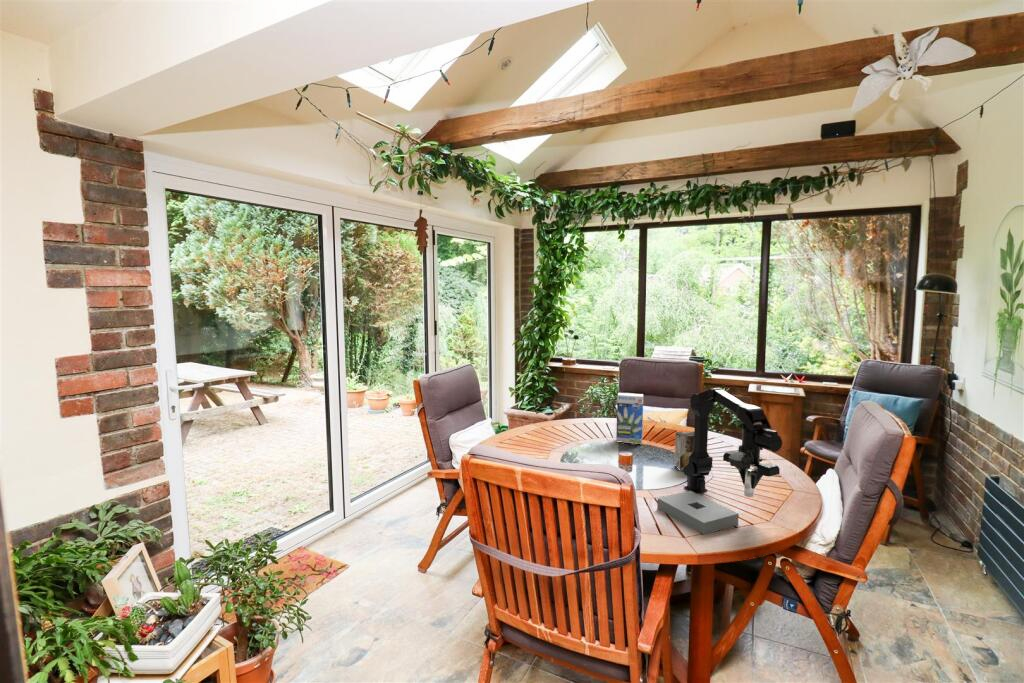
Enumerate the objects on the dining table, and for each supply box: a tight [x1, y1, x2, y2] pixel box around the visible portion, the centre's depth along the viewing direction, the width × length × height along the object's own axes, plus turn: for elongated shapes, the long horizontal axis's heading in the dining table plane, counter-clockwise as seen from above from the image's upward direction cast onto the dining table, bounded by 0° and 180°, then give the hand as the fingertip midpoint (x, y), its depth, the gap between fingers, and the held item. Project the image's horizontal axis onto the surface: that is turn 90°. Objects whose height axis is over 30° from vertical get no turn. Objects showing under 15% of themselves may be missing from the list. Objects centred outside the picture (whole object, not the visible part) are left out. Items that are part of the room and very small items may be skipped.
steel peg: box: [743, 468, 755, 498], centre depth 174 cm, size 3×3×9 cm
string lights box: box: [615, 392, 644, 444], centre depth 264 cm, size 13×8×26 cm, turn 73°
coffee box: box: [674, 431, 694, 470], centre depth 225 cm, size 9×6×16 cm
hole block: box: [656, 490, 740, 535], centre depth 177 cm, size 22×16×4 cm
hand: (749, 486), depth 174 cm, fingers closed on steel peg, 3 cm apart
